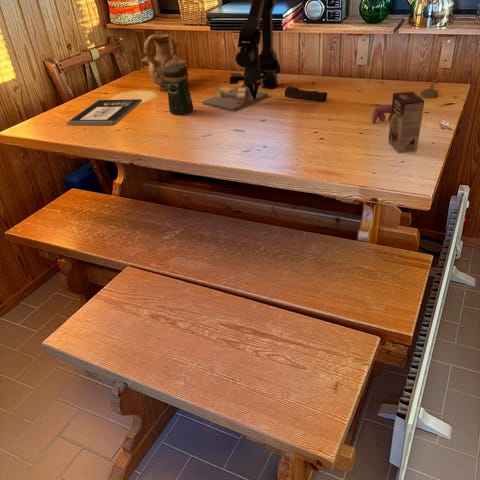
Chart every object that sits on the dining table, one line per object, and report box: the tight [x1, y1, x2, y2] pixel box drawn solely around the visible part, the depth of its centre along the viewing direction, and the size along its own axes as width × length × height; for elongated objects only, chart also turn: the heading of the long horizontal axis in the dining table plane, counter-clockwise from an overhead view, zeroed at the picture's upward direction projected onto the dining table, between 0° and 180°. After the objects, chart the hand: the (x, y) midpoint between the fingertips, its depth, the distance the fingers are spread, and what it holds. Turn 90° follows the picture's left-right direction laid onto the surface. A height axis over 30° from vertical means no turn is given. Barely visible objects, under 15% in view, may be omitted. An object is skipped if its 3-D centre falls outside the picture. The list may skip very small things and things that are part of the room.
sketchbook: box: [66, 98, 142, 126], centre depth 200 cm, size 22×30×2 cm
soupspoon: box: [419, 78, 439, 100], centre depth 188 cm, size 22×3×7 cm
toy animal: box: [371, 103, 392, 125], centre depth 164 cm, size 10×5×7 cm, turn 71°
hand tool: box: [284, 86, 328, 103], centre depth 192 cm, size 19×4×5 cm, turn 54°
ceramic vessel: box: [141, 33, 187, 91], centre depth 214 cm, size 18×19×25 cm
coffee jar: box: [163, 65, 194, 115], centre depth 187 cm, size 10×8×19 cm
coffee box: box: [387, 91, 425, 154], centre depth 143 cm, size 9×6×16 cm
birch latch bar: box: [237, 84, 248, 103], centre depth 198 cm, size 18×4×2 cm, turn 176°
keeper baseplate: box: [202, 82, 269, 112], centre depth 197 cm, size 22×18×5 cm
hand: (254, 99), depth 192 cm, fingers closed
